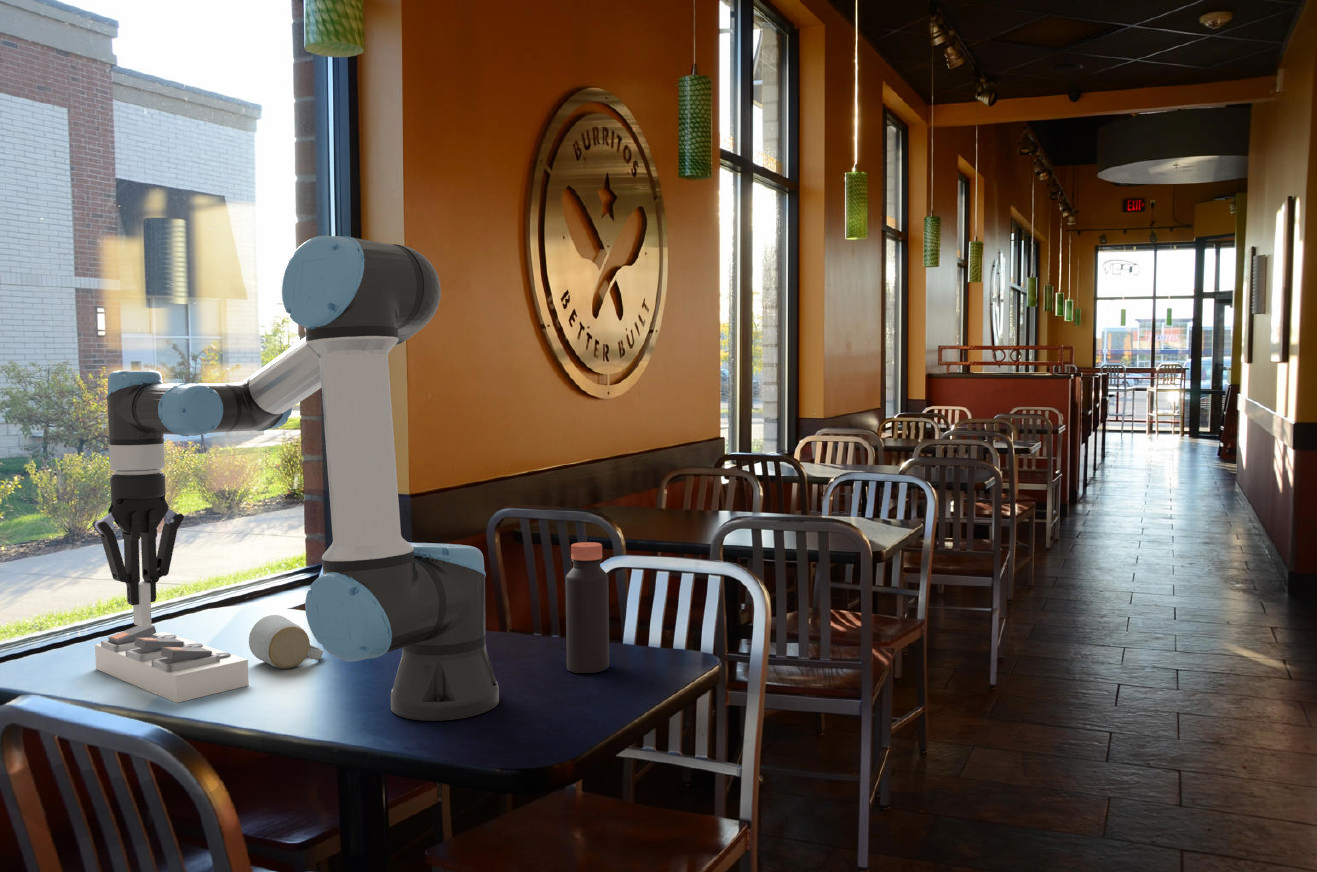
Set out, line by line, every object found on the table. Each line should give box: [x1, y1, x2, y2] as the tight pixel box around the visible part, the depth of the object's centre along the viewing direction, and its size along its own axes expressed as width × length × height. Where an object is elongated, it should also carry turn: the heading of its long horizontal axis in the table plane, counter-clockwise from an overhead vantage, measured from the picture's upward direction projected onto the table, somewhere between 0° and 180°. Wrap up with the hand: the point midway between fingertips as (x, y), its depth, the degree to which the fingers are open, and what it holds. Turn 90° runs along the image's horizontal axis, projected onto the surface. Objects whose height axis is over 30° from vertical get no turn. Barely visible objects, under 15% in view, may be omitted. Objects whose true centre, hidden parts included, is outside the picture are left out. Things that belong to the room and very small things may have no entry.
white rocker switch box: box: [94, 631, 250, 704], centre depth 165 cm, size 28×11×5 cm, turn 50°
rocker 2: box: [161, 647, 212, 659], centre depth 158 cm, size 4×6×1 cm, turn 140°
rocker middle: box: [134, 638, 184, 649], centre depth 164 cm, size 4×6×1 cm, turn 140°
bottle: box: [565, 541, 610, 674], centre depth 168 cm, size 7×7×20 cm
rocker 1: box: [107, 624, 157, 645], centre depth 170 cm, size 4×6×1 cm, turn 139°
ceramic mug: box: [248, 614, 324, 670], centre depth 173 cm, size 11×8×8 cm
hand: (142, 624), depth 162 cm, fingers closed
